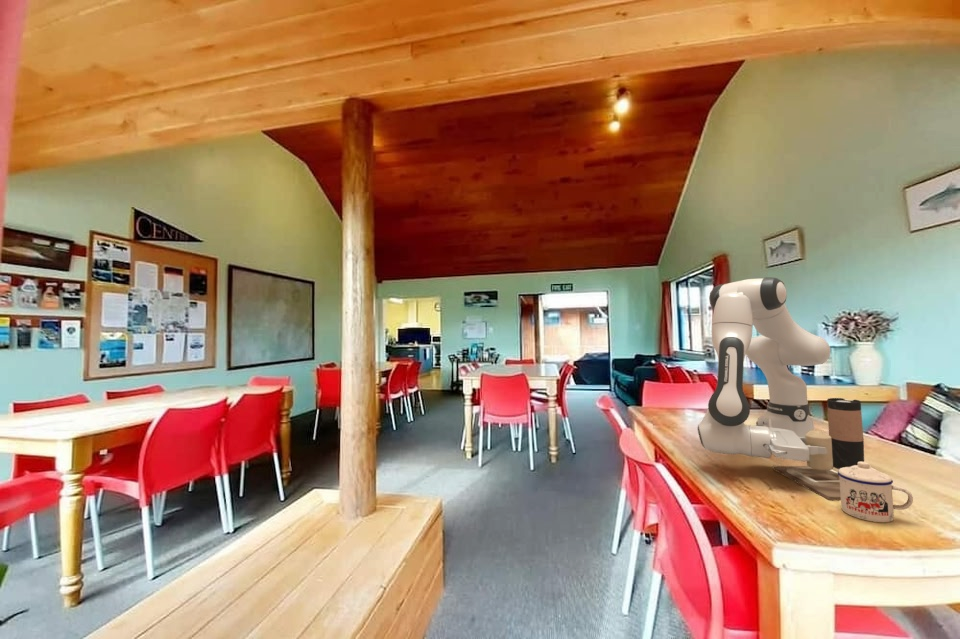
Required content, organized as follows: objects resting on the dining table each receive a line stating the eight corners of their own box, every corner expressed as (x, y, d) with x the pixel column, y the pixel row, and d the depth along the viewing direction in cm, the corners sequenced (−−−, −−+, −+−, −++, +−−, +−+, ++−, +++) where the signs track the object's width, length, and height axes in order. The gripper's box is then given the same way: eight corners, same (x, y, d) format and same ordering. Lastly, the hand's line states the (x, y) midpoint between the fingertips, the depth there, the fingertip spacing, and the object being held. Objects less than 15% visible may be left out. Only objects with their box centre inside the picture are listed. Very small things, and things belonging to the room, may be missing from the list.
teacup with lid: (841, 516, 91) (838, 464, 91) (838, 502, 98) (835, 454, 98) (919, 531, 83) (915, 475, 83) (910, 514, 90) (906, 462, 90)
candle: (838, 470, 107) (836, 432, 108) (818, 470, 107) (816, 433, 108) (821, 463, 113) (819, 427, 113) (801, 464, 113) (799, 428, 113)
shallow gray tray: (773, 469, 121) (772, 462, 121) (819, 468, 119) (819, 462, 120) (829, 500, 99) (828, 492, 99) (886, 500, 98) (886, 491, 98)
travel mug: (839, 471, 117) (835, 402, 118) (825, 462, 124) (821, 397, 125) (872, 472, 115) (867, 402, 115) (856, 463, 122) (851, 398, 123)
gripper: (766, 439, 108) (833, 445, 101) (756, 423, 126) (813, 426, 119) (767, 463, 107) (834, 470, 101) (757, 443, 125) (814, 448, 119)
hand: (822, 446), depth 110 cm, fingers closed on candle, 5 cm apart
